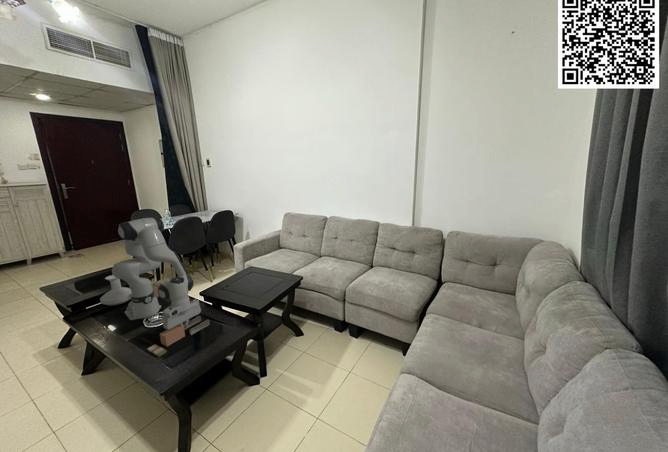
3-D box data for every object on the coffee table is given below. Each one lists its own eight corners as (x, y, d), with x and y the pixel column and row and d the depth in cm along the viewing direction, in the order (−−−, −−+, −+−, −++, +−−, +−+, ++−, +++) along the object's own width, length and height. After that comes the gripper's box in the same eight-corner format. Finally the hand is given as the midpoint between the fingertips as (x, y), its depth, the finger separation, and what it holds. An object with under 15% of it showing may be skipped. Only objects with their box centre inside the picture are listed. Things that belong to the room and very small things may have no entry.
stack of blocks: (162, 290, 209) (160, 275, 207) (169, 290, 208) (166, 276, 206) (138, 303, 189) (135, 287, 186) (145, 304, 188) (142, 288, 185)
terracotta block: (161, 343, 142) (159, 333, 141) (179, 333, 151) (177, 324, 149) (167, 346, 139) (165, 336, 138) (185, 336, 148) (183, 326, 147)
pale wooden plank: (147, 350, 139) (146, 343, 138) (202, 319, 166) (201, 314, 165) (159, 356, 134) (157, 349, 133) (213, 324, 161) (213, 318, 160)
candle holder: (135, 292, 207) (130, 269, 203) (137, 301, 192) (132, 277, 187) (101, 300, 194) (96, 276, 190) (100, 311, 179) (94, 285, 175)
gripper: (194, 296, 158) (197, 317, 161) (159, 313, 140) (163, 335, 143) (201, 298, 155) (204, 319, 158) (166, 315, 137) (170, 339, 140)
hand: (184, 327), depth 150 cm, fingers closed
